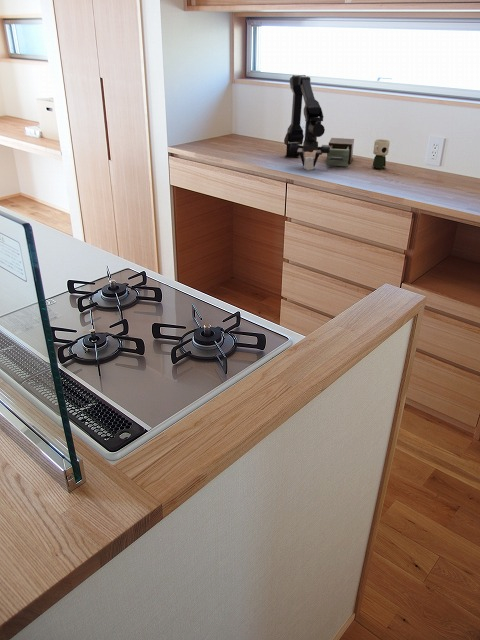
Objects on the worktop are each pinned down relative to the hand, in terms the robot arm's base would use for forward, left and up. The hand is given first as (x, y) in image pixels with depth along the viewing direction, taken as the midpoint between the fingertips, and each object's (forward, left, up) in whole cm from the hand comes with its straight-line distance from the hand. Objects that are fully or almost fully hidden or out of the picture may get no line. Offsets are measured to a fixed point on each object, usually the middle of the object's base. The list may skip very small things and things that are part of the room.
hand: (308, 166), depth 263 cm
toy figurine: (+33, +10, -1) cm, 35 cm away
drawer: (+13, +9, 0) cm, 16 cm away
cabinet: (+13, +22, -1) cm, 26 cm away
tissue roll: (0, 0, -1) cm, 1 cm away
